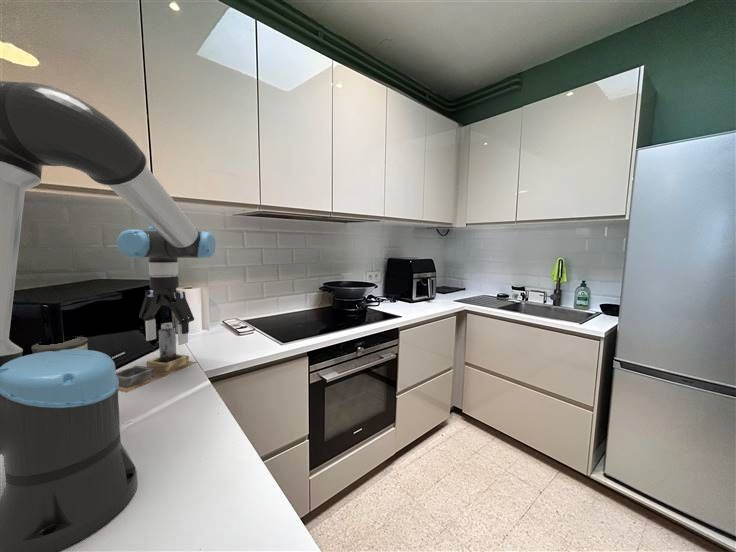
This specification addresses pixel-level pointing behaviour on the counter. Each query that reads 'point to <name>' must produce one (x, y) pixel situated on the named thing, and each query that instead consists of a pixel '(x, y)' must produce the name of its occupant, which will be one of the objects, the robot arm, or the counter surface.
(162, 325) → the grey cylinder
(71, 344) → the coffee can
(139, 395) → the counter surface
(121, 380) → the tool stand
